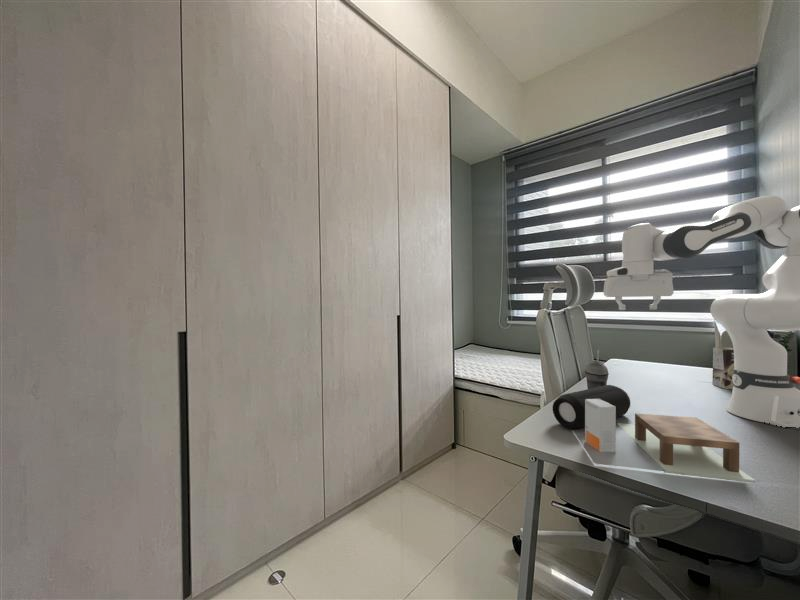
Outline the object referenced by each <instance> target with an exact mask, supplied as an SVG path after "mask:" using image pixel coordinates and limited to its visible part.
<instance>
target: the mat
mask: <svg viewBox="0 0 800 600" xmlns="http://www.w3.org/2000/svg"><path fill="white" fill-rule="evenodd" d="M616 425H618V427H620V428H621V429H622V430H623V431H624V432H625V433H626V434H627V435H629V437H630V438H631V439H632V440H633V441H634V442H635V443H636V444H637V445H639V446H640V447H641V448H642V449H643V451H645V452H646V453H647V455H648V456H650V457H651V458H652V459H653V460H654V461H655V462H656V463H657V464H658V465H659V466H660V467H661V468H662V469H663V472H664V473H666V474H673V475H674V474H675V475H683V476H693V477H701V478H709V479H719V480H726V481H727V480H728V481H739V482H744V483H745V482H746V483H756V479H754V478H752V477H751V476H750V475H748V474H747V473H746V472H744V471H743V470H741V469H740V468H739V472H730V471H728V470H726V469H725V468H724V467H723V456H721V455H719V453H717V452H715V451H714V450H712V449H710V447H701V446H690V445H679V444H673V465H664V464H663V463H662V462H661V461H660V439H658V438H657V437H656V436H655V435H654V434H652V433H651V432H650V431H649V430H647V429H646V441H641V440H637V439H636V438H635V423H634V424H633V423H623V422H622V423H621V422H620V423H619V422H617V423H616Z"/></svg>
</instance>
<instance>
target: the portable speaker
mask: <svg viewBox="0 0 800 600" xmlns="http://www.w3.org/2000/svg"><path fill="white" fill-rule="evenodd" d="M585 399H601V400H603V401H605V402H608V403H609V404H611V405H613V406H615V407H616V418H619V417H621V416H625V415H626V414H627V413H628V411H629V409H630V407H631V398H630V396H629V395H628V393H627V392H626V391H625V390H624V389H622V388H621V387H619V386H615V385H612V384H607V385H605V386H600V387H596V388H591V389H588V388H587V389H582V390H579V391H574V392H569V393H564V394H561V395H559V396H558V397H557V398H556V399H555V400H554V401H553V403H552V413H553V416H554V418H555V419H556V421H557V422H558V424H560V425H562V426H563V427H565V428H568V429H569V428H570V429H575V430H577V429H581V428H585Z"/></svg>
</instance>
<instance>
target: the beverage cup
mask: <svg viewBox="0 0 800 600" xmlns="http://www.w3.org/2000/svg"><path fill="white" fill-rule="evenodd" d="M596 351H597V352H596V360H595V361H591V362H589V363H587V365H586V366H585V369H584V370H585V371H584V373H585V379H586V387H587V389H591V388H596V387H600V386H605V385H608V384H607V382H608V378H609V374H610V373H609V369H608V367H607V366H606V365H605V364H604V363H603V362H601V361H599V359H600V358H599V357H600V350H599V349H597V350H596Z"/></svg>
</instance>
